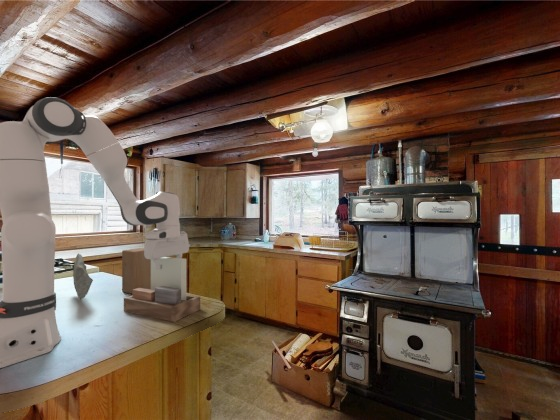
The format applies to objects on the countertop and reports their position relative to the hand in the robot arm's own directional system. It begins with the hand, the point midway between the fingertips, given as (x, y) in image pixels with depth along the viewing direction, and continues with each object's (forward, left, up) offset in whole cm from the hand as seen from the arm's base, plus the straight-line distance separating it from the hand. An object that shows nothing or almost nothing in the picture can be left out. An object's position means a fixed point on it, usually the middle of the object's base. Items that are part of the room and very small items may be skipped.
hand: (168, 267), depth 112 cm
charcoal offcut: (-6, -6, -16) cm, 18 cm away
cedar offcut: (-6, +6, -16) cm, 19 cm away
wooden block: (+12, +32, -17) cm, 38 cm away
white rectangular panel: (0, 0, -16) cm, 16 cm away
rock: (-8, +43, -17) cm, 47 cm away
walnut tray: (-3, 0, -16) cm, 17 cm away
